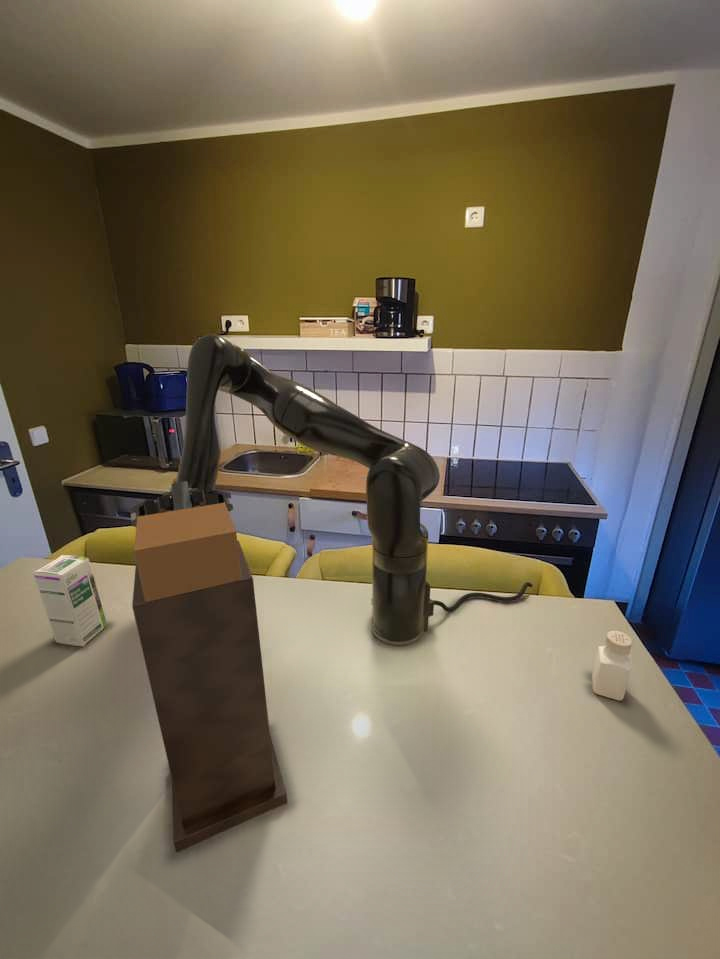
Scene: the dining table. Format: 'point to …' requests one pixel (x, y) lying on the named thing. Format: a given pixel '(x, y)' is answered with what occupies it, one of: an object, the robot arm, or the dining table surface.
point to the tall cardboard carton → (186, 548)
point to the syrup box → (71, 599)
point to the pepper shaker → (612, 666)
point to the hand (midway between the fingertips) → (181, 498)
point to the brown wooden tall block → (210, 705)
